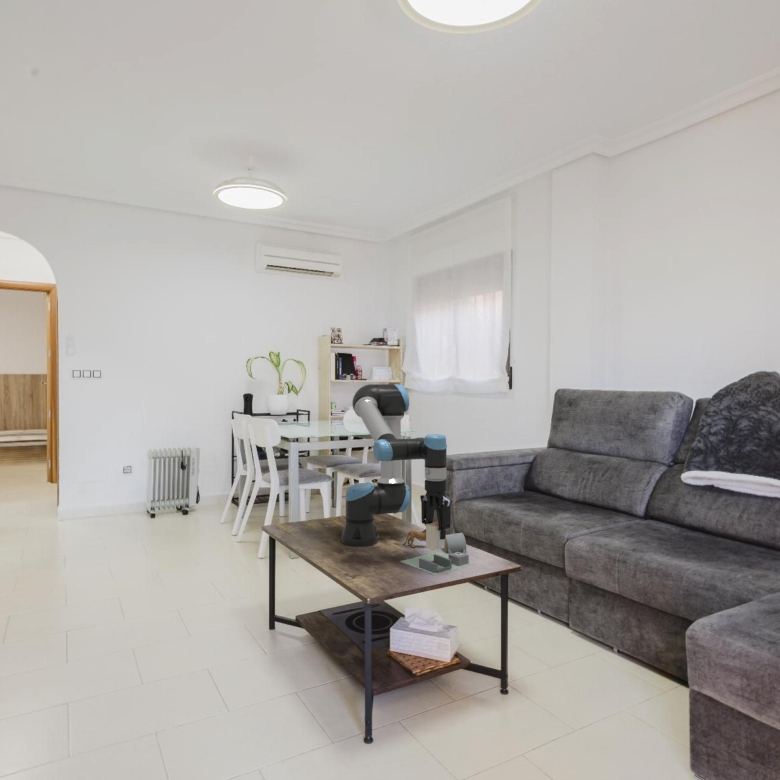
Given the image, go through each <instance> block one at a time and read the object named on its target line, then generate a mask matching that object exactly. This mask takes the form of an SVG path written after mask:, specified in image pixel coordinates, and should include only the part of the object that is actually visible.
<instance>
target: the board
mask: <svg viewBox="0 0 780 780" xmlns="http://www.w3.org/2000/svg"><path fill="white" fill-rule="evenodd" d="M435 554H436V555H439V556H442V557H445V558H448V559H449V555H447V554H444V553H441V552H438V551H435V552H431V553H427V554H423V555H420V556H416V557H411V558H408V559H404V560H400V561H399V562H400V563H403V564H406V565H408V566H410V567H413V568H416V569H419V570H421V571H424V572H426V573H429V574H432V575H433V576H436V575H438V574H443V573H446V572H450V571H452V570H455V569H459V568H462V567H463V568H464V567H466V566H469V565H471V563H470V562H469V563H468V564H465V565H462V566H456V565H454V564H452V568H451V569H450V570H447V571H443V572H440V573H433V572H430V571H428V570H425V569H422V568H420V567H419V558H422V559H425V560H428V561H434V555H435ZM438 567H441V568H444V567H443V566H440V565H437V569H441V568H438Z"/></svg>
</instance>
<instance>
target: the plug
mask: <svg viewBox="0 0 780 780" xmlns="http://www.w3.org/2000/svg"><path fill="white" fill-rule="evenodd" d="M442 526H443V525H442ZM425 529H426V541H425V548H427V549H431V550H433V551H438V550H439V549H437V530H438V529H439V525H438V521H437V522H433V523H430V524H426V526H425Z"/></svg>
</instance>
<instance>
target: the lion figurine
mask: <svg viewBox="0 0 780 780" xmlns="http://www.w3.org/2000/svg"><path fill="white" fill-rule="evenodd" d="M415 539H416V540H417V541H421V542H426V528H425V529H424V530H422V531H420V530H417V529H410V530H409V531H408V533H407V536H406V540H405V542H403V544H402V546H405V545H406V544H407V545H408V546H411V548H412V547H413V548H412V549H415V548H416V545H414V540H415ZM414 547H415V548H414Z"/></svg>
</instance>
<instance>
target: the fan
mask: <svg viewBox="0 0 780 780" xmlns="http://www.w3.org/2000/svg"><path fill="white" fill-rule="evenodd" d="M448 556H449V559H451V560H452V564H454V565H456V566H462V565H465V564H468V563H470V559H469V554H466V553H463V552H455V553H452V554H449V553H448Z"/></svg>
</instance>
